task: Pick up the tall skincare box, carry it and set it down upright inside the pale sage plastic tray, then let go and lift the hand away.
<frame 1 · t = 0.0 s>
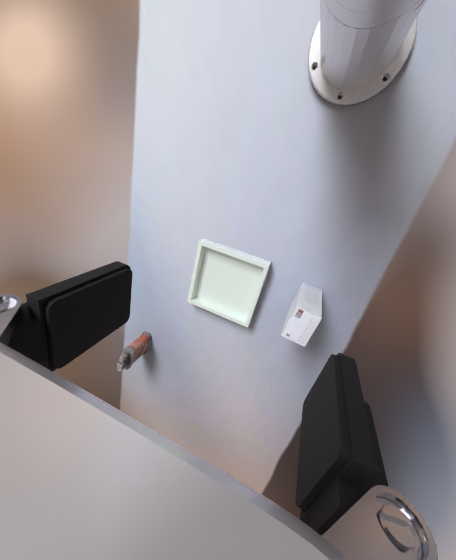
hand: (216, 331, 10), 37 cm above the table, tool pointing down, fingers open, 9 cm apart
lighter: (145, 341, 68), on the table
skincare box: (305, 296, 47), on the table
sage tray: (228, 281, 51), on the table
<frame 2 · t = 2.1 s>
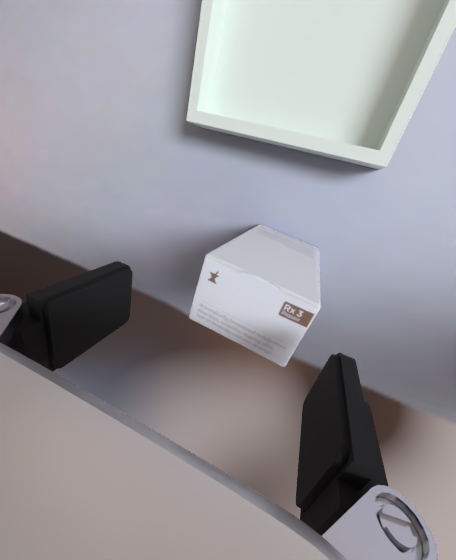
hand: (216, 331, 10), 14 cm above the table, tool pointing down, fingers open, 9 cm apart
skincare box: (282, 254, 22), on the table
sage tray: (318, 21, 16), on the table
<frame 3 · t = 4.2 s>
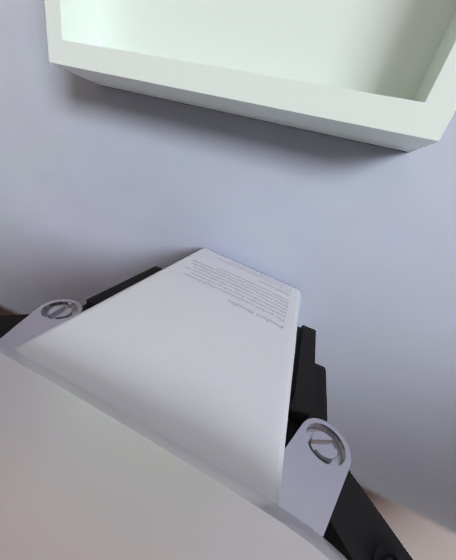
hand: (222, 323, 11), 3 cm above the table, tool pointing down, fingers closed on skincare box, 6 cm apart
skincare box: (243, 294, 14), on the table, touching gripper
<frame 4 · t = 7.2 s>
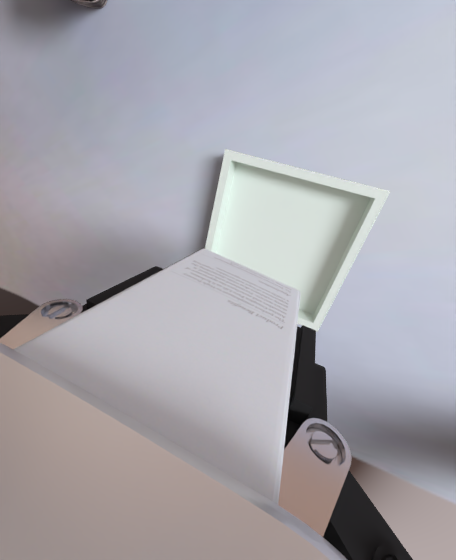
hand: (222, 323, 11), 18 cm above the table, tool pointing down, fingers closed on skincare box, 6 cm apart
skincare box: (243, 294, 14), point 14 cm above the table, touching gripper
sage tray: (278, 241, 26), on the table
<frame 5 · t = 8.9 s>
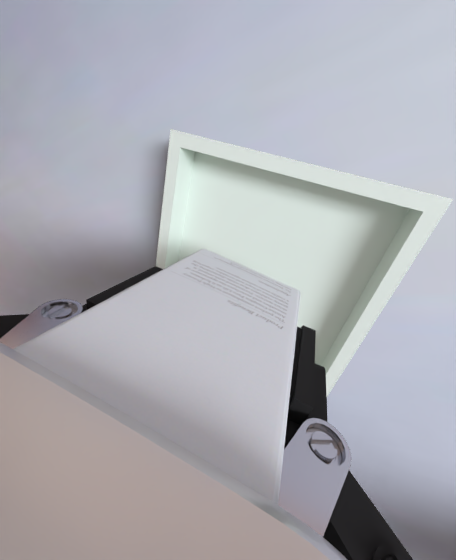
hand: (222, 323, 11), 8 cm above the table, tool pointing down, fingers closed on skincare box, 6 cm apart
skincare box: (243, 294, 14), point 5 cm above the table, touching gripper
sage tray: (261, 271, 18), on the table
when the fingers open (5 cm above the table, at t = 10.4 s): skincare box drops 1 cm, resting on sage tray.
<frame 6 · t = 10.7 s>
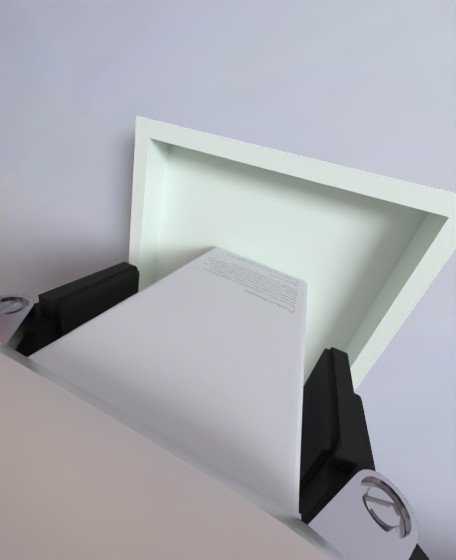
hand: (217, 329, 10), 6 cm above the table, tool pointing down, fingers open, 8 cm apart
skincare box: (254, 288, 15), resting on sage tray
sage tray: (250, 283, 15), on the table
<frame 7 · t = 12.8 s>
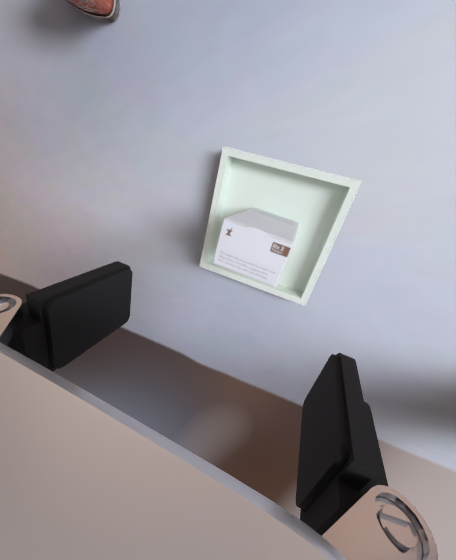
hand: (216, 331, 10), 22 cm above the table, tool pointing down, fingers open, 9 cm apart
skincare box: (272, 229, 30), resting on sage tray
sage tray: (270, 227, 30), on the table
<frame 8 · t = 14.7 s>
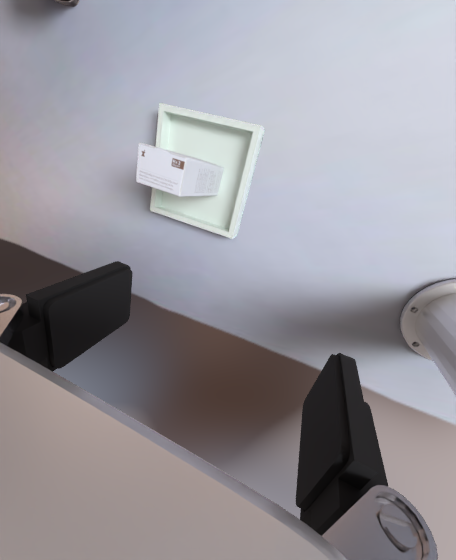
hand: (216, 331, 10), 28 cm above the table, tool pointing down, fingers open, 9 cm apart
skincare box: (205, 175, 36), resting on sage tray
sage tray: (204, 174, 36), on the table
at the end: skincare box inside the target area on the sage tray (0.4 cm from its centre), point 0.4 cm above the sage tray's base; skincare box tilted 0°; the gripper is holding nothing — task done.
